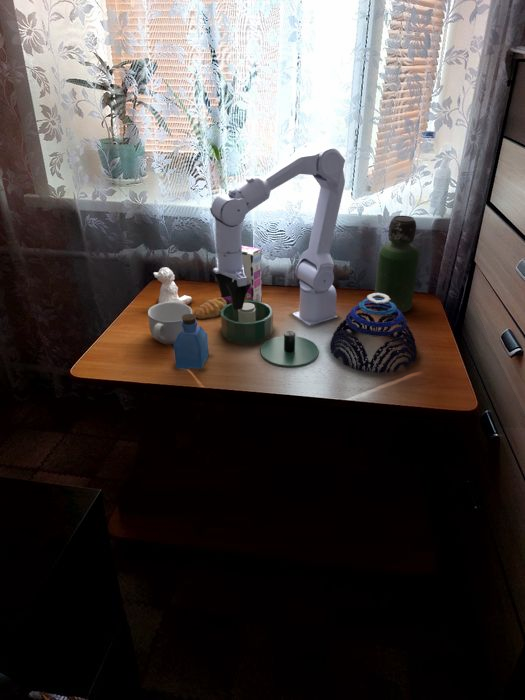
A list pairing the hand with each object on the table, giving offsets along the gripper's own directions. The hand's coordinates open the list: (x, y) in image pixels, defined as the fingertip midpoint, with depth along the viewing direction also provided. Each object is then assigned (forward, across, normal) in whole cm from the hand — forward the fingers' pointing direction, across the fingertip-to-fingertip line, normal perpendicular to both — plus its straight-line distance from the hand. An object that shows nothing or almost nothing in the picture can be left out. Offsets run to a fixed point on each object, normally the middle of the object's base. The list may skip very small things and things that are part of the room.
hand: (232, 302), depth 130 cm
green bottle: (+11, +2, +47) cm, 48 cm away
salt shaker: (+10, -2, +4) cm, 11 cm away
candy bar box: (+10, -18, +10) cm, 23 cm away
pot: (+10, -2, +4) cm, 11 cm away
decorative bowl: (+10, +20, +28) cm, 36 cm away
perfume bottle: (+10, +6, -13) cm, 18 cm away
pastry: (+10, -15, 0) cm, 18 cm away
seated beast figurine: (+10, -24, -9) cm, 28 cm away
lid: (+10, +13, +9) cm, 18 cm away
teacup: (+10, -6, -15) cm, 19 cm away
